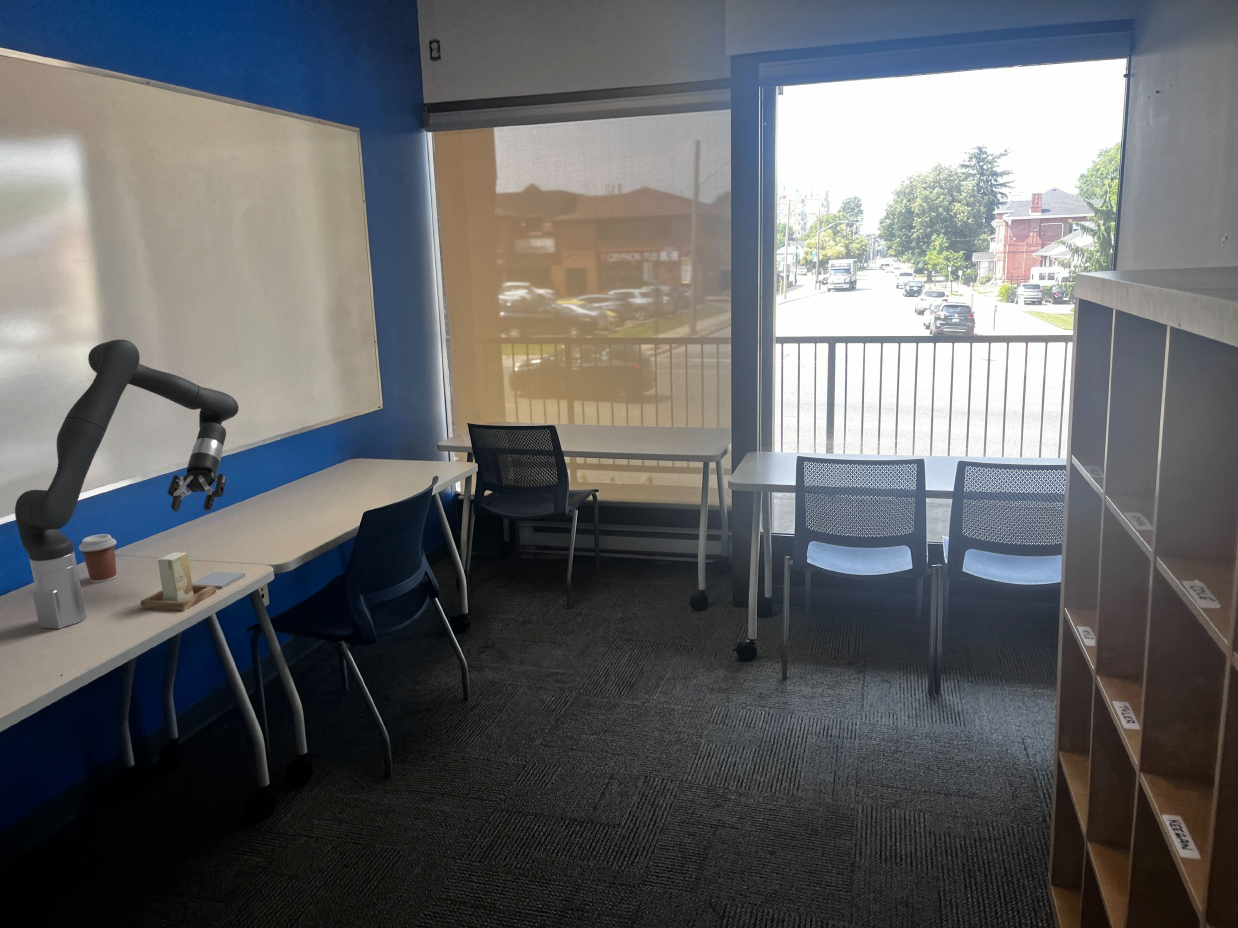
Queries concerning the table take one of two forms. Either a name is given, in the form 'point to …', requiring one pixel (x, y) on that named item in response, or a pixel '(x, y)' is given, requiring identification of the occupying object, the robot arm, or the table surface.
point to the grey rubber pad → (219, 579)
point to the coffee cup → (99, 557)
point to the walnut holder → (158, 602)
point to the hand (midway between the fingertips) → (190, 510)
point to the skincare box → (175, 577)
